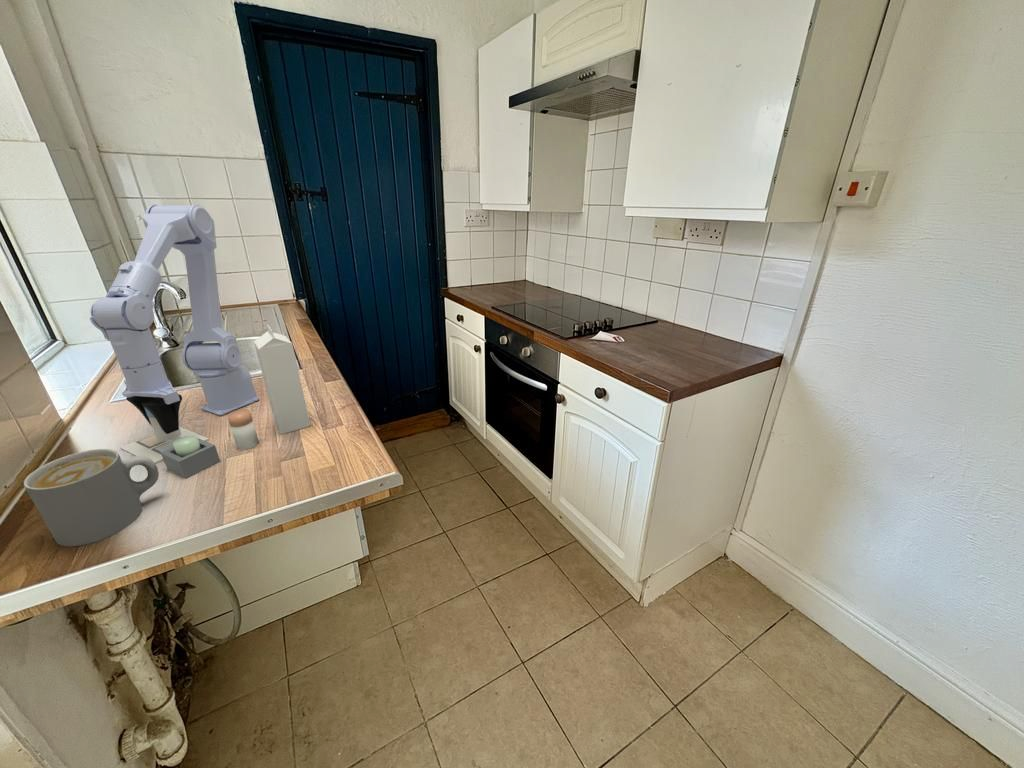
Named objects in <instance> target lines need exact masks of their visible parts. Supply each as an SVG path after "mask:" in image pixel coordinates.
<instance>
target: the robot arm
mask: <svg viewBox="0 0 1024 768" xmlns="http://www.w3.org/2000/svg"><path fill="white" fill-rule="evenodd" d="M142 221H143V225H144V227H145V228H146V229H145V231H144V234H143V236H142V239H141V242H140V244H139V247H138V250H137V253H136V256H135V259H134V260H132V261H131V260H130V261H125V262H124V263H122V264H120V266H119V267H118V272H117V275H116V277H115V279H114V280H113V282H112V284H111V286H110V287H109V289H108V291H107V293H106V295H105V296H102V297H100V298H98V299H96V300H95V301H94V302H93V304H92V305H91V307H90V317H89V320H90V322H91V324H92V325H93V326H94V327H95V328H96V329H98V330H100V332H101V333H102V336H103V337H104V340H106V341H108V342H110V344H111V347H112V350H113V351H114V355H115V358H116V359H117V362H118V365H119V367H120V370H121V372H122V374H123V377H124V380H123V382H124V384H125V388H126V389H127V390H125V391H122V392H121V395H122V396H123V397H125V398H126V400H127V401H128V402H129V403H130V404H132V405H133V406H134V407H135V408H136V409H137V410H138V411H139V412H140V413H141V414H142V416H143V417H144V418H145V420H146V421H147V422H148V423H149V425H150V426H151V427H152V425H151V423H150V420H149V417H148V416H147V413H146V411H145V408H146V409H147V410H149V411H150V412H151V413H152V415H153V416H154V417H155V418H156V420H157V422H158V423H159V425H160V427H161V428H162V430H163V431H164V432H165V433H166V434H169V433H172V432H174V431H177V430H179V427H180V418H179V416H180V415H179V413H180V412H179V411H180V407H181V403H182V401H183V395H182V394H179V393H178V391H177V390H175V389H174V387H173V385H172V382H171V380H169V378H168V377H167V376H168V375H167V373H166V371H165V368H164V365H163V362H162V359H161V356H160V354H159V352H158V351H159V350H158V348H157V346H156V343H155V340H154V337H153V335H152V331H151V328H150V327H151V326H152V324H153V323H154V321H155V312H154V302H153V299H154V298H155V296H156V294H157V291H158V289H159V287H160V285H161V283H162V280H163V277H162V274H161V273H160V272H159V269H160V267H161V265H162V264H163V262H164V261H165V260H166V258H167V256H168V254H169V252H170V251H171V250H172V248H173V249H175V250H176V251H177V250H178V251H180V252H181V254H183V256H185V257H184V259H185V266H186V267H185V268H186V274H187V284H188V292H189V301H190V310H191V311H190V312H191V320H192V327H193V328H192V330H191V331H190V332H189V333H187V334H186V335H185V336H184V337H183V339H182V340H183V349H182V352H181V360H182V363H183V364H184V366H185V367H186V368H187V370H189V371H193V375H195V376H198V379H199V382H200V386H201V389H202V392H203V394H204V397H205V401H206V404H204V405H201V406H200V409H201V410H203V411H205V412H209V413H212V414H214V415H216V416H223V415H226V414H229V413H231V412H233V411H236V410H239V409H240V408H243V407H245V406H248V405H250V404H252V403H255V402H257V401H259V399H260V398H259V397H258V396H257V393H256V389H255V386H254V383H253V379H252V377H251V376H252V375H251V373H250V371H249V370H248V369H247V367H246V366H244V365H243V364H241V362H242V361H241V360H242V354H241V350H240V349H239V345H238V342H237V337H236V336H235V335H233V334H232V333H230V332H229V331H227V330H226V329H224V328H223V323H222V314H221V304H220V295H219V294H220V293H219V285H218V284H219V283H218V276H217V265H216V258H215V255H216V254H215V249H217V238H216V227H215V221H214V219H213V218H212V217H211V215H210V213H209V212H208V211H207V209H206V208H205V207H204V206H202V205H200V204H191V205H189V204H188V205H177V204H176V205H158V204H151V205H149V206H147V208H146V210H145V212H144V214H143V216H142ZM204 342H207V343H204ZM209 342H210V343H209ZM211 342H212V343H211ZM216 342H217V343H216ZM144 407H145V408H144Z"/></svg>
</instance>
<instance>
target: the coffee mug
mask: <svg viewBox="0 0 1024 768" xmlns="http://www.w3.org/2000/svg"><path fill="white" fill-rule="evenodd" d="M135 466H142V467H144V468H145V469H146V471H147V476H146V477H145V479H143V480H141V481H136V480H134V479H133V478H132V477H131V474H130V473H131V470H132V468H134V467H135ZM159 475H160V474H159V469H158V466H157V463H156V464H155V463H154V461H153V460H152V459H150V458H149V457H146V456H132V457H127V458H124V459H122V458H121V456H120V454H119V453H118V452H117V451H116V450H115V449H111V448H96V449H90V450H83V451H80V452H75V453H72V454H68V455H66V456H63V457H60V458H56V459H54V460H52V461H50V462H47V463H46V464H43V465H41V466H39V467H38V468H36V469H35V470H33V471H32V472H31V473H29V474H28V475H27V476H26V478H25V479H24V480H23V487H24V488H25V490H26V492H27V494H28V495H29V497H30V500H32V502H33V504H34V506H35V507H36V510H37V511H38V512H39V516H41V518H42V520H43V521H44V523H45V525H46V526H47V528H48V530H49V532H50V534H51V535H52V537H53V539H54V541H55V542H56V543H57V544H58V545H59V546H63V547H78V546H84V545H89V544H94V543H96V542H99V541H101V540H105V539H106V538H109V537H111V536H113V535H116V534H117V533H119V532H121V531H122V530H125V529H126V528H127V527H129V526H130V525H132V523H134V522H135V521H136V520H137V519H138V518H139V517H140V515H142V512H143V506H142V503H141V501H140V500H141V499H140V498H141V497H142V495H143V494H144V493H145V492H147V491H148V490H149V489H150V488H152V487H153V486H154V485H155V484H156V483H157V482H158V479H159Z"/></svg>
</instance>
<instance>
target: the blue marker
mask: <svg viewBox="0 0 1024 768" xmlns="http://www.w3.org/2000/svg"><path fill="white" fill-rule="evenodd" d="M144 408H145V407H144ZM145 411H146V413H147V416H148V417H149V420H150V423H151V425H152V426H151V425H150V426H151V427H152V430H153V434H155V435H156V438H157V440H158V441H161V442H163V441H169V440H173V439H175V438H177V437H179V436H180V435H181V431H180V428H179V430H177V431H174V432H172V433H169V434H166V433H165V432H164V431H163V430H162V428H161V427H160V425H159V423H158V422H157V420H156V418H155V417H154V416H153V415H152V413H151V412H150V411H149V410H147V409H146V408H145Z"/></svg>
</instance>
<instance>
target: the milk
mask: <svg viewBox="0 0 1024 768" xmlns="http://www.w3.org/2000/svg"><path fill="white" fill-rule="evenodd" d="M266 328H267V331H266V332H265V333H263V334H262V335H261V336H259V337H258V338H257V339H256V340H254V341H253V343H254V346H255V352H256V355H257V359H258V362H259V366H260V370H261V374H262V378H263V382H264V386H265V390H266V393H267V397H268V401H269V404H270V409H271V412H272V415H273V420H274V423H275V425H276V428H277V430H278V431H279V434H280V435H284V434H288V433H291V432H294V431H295V432H296V431H299V430H302V429H305V428H309V427H311V421H310V417H309V412H308V407H307V403H306V399H305V394H304V391H303V390H304V389H303V386H302V381H301V375H300V373H299V368H298V364H297V357H296V354H295V350H294V345H293V342H292V341H290V339H289V338H288V337H287V335H283V334H280V333H276V332H274V331H273V330H272V328H271V326H270V325H269V324H266Z"/></svg>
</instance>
